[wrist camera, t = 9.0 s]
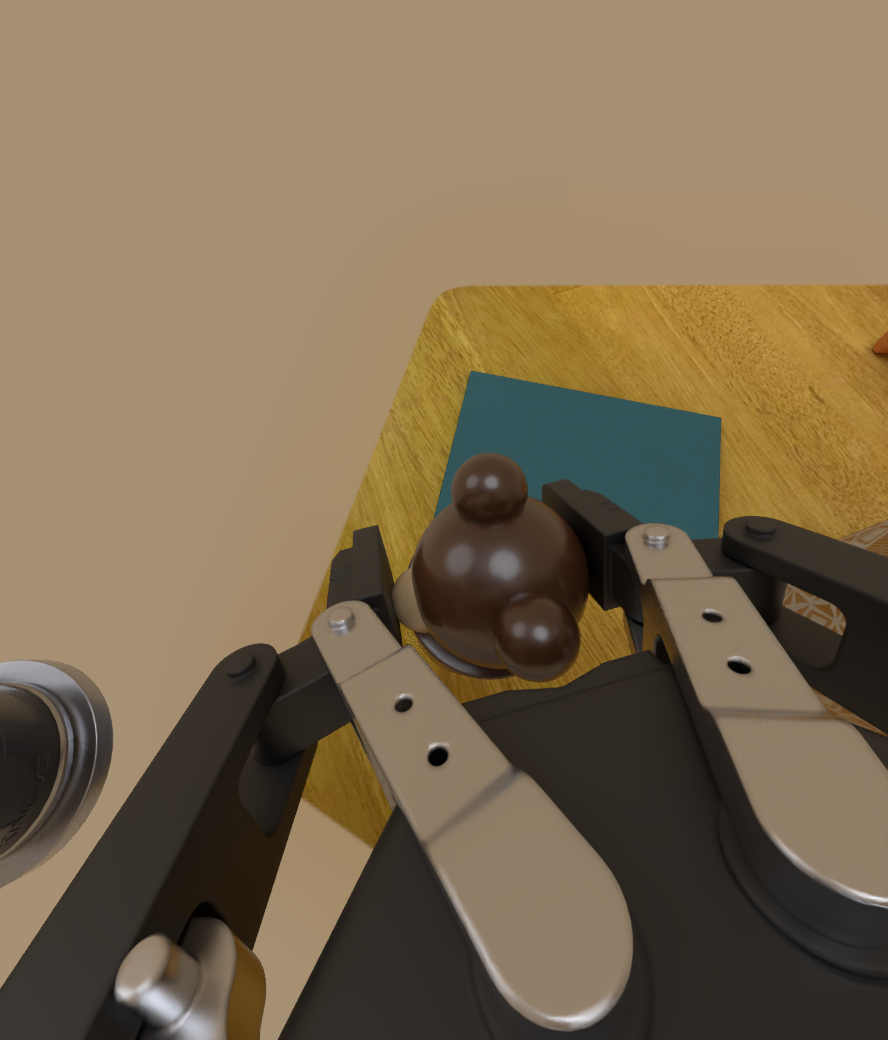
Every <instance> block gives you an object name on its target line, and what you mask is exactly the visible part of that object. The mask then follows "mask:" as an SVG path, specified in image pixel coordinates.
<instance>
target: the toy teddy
mask: <svg viewBox="0 0 888 1040" xmlns="http://www.w3.org/2000/svg"><path fill="white" fill-rule="evenodd" d="M451 498H452V502H453V503H452V504H451V505H449V506H448V507H446V508H445V509H444V510H443V511H441V512H440V513H439V514H438V515H437V516H436V517H435V518H434V519H433V520H432V522H431V523H430V524H429V526H428V527H427V528H426V530H425V531H424V533H423V535H422V536H421V538H420V540H419V542H418V545H417V548H416V550H415V553H414V555H413V557H412V559H411V562H410V564H409V567H408V570H406V571H405V572H403V573H402V574H401V575H400V576H399V578H398V579H397V580H396V582H395V584H394V586H393V589H392V601H393V606H394V610H395V614H396V617H397V619H398V620H399V621H400V623H402V624H403V625H404V626H405V627H407V628H408V629H410V630H413V631H414V634H415V636H416V638H417V640H418V642H419V644H420V646H421V647H422V649H423V651H424V652H425V653H426V654H427V655H428V657H429V658H431V659H432V660H433V661H434V662H435V663H436V664H438V665H439V666H440V667H442V668H444V669H446V670H448V671H451V672H453V673H456V674H460V675H464V676H468V677H473V678H478V679H489V680H491V679H503V678H508V677H513V676H517V677H519V678H521V679H524V680H527V681H531V682H547V681H552V680H554V679H557V678H559V677H561V676H562V675H564V674H565V673H566V672H567V671H568V670H569V669H570V668H571V667H572V666H573V664H574V663H575V661H576V659H577V657H578V654H579V651H580V644H581V635H580V629H579V626H578V624H579V622H580V620H581V618H582V616H583V613H584V610H585V608H586V603H587V599H588V593H589V569H588V563H587V558H586V555H585V552H584V549H583V547H582V545H581V542H580V540H579V538H578V537H577V535H576V533H575V532H574V530H573V529H572V528H571V526H570V525H569V524H568V522H567V521H566V520H565V519H564V518H563V517H562V516H561V515H560V514H559V513H558V512H556V511H555V510H554V509H553V508H551V507H550V506H548V505H547V504H545V503H543V502H542V501H540V500H538V499H535V498H533V497H531V496H528V485H527V481H526V477H525V475H524V473H523V471H522V469H521V468H520V467H519V466H518V465H517V464H516V463H515V462H514V461H513V460H512V459H510V458H508V457H506V456H504V455H501V454H498V453H482V454H478V455H475V456H473V457H471V458H469V459H468V460H467V461H465V462H464V463H463V464H462V465H461V466H460V467H459V469H458V470H457V471H456V473H455V475H454V478H453V480H452V485H451Z"/></svg>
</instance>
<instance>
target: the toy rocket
mask: <svg viewBox="0 0 888 1040" xmlns="http://www.w3.org/2000/svg"><path fill="white" fill-rule="evenodd" d="M873 350H874V351H875V352H876V353H888V332H887V333H886V334H884V335H883V336H882V337H881V338H880V339H879V340H878V341H877V343H876V345H875V346H874V348H873Z"/></svg>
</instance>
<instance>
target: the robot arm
mask: <svg viewBox="0 0 888 1040" xmlns="http://www.w3.org/2000/svg"><path fill="white" fill-rule="evenodd" d="M542 502H543V503H545V504H547V505H548V506H550V507H551V508H553V509H554V510H555V511H556V512H558V513H559V514H560V515H561V516H562V517H563V518H564V519H565V520H566V521H567V522H568V524H569V525H570V526H571V528H572V529H573V530H574V532H575V533H576V535H577V537H578V538H579V540H580V542H581V545H582V547H583V549H584V552H585V555H586V558H587V563H588V569H589V593H590V594H591V596H592V597H593V598H594V599H595V600H596V602H597V603H598V604H599V605H600V606H601V607H602V609H603V610H604V611H606V610H610V609H613V608H617V607H620V606H621V608H622V609H623V623H624V628H625V631H626V635H627V639H628V642H629V646H630V650H631V653H632V655H629V656H625V657H622V658H619V659H615V660H612V661H608V662H605V663H603V664H601V665H599V666H597V667H596V668H594V669H592V670H591V671H589V672H587V673H585V674H584V675H582V676H580V677H579V678H577V679H575V680H574V681H572V682H570V683H568V684H567V685H565V686H562V687H558V688H543V689H526V690H510V691H504V692H500V693H497V694H493V695H490V696H486V697H483V698H479V699H476V700H472V701H469V702H465V703H462V704H460V702H459V701H458V700H457V699H456V698H455V696H454V695H453V694H452V693H451V692H450V690H449V689H448V688H447V687H446V686H445V684H444V683H443V682H442V681H441V680H440V678H439V677H438V676H437V675H436V674H435V672H434V671H433V670H432V669H431V668H430V666H429V665H428V664H427V663H426V662H425V660H424V659H423V658H422V657H421V656H420V654H419V653H418V652H417V651H416V650H415V649H414V648H413V647H412V646H411V645H410V644H407V645H405V646H404V647H403V645H402V638H401V630H400V623H399V620H398V619H397V617H396V614H395V610H394V606H393V601H392V589H393V586H394V581H393V577H392V572H391V569H390V565H389V562H388V558H387V555H386V551H385V548H384V544H383V541H382V537H381V534H380V531H379V528H378V525H375V526H371V527H367V528H363V529H359V530H355V531H353V548H349V549H345V550H341V551H339V552H338V554H337V555H336V556H335V558H334V559H333V561H332V564H331V574H330V583H329V590H328V599H327V608H326V610H325V611H323V612H322V613H321V614H320V615H319V616H318V617H317V618H316V619H315V621H314V622H313V625H312V628H311V633H312V636H311V637H309V638H308V639H307V640H305V641H304V642H302V643H300V644H298V645H296V646H294V647H292V648H290V649H288V650H286V651H284V652H282V653H280V654H277V653H276V650H275V649H274V648H273V647H272V646H271V645H268V644H253V645H249V646H246V647H243V648H241V649H239V650H237V651H235V652H233V653H231V654H230V655H228V656H227V657H226V658H224V659H223V660H222V661H221V662H220V663H219V664H218V665H217V666H216V667H215V668H214V670H213V671H212V672H211V674H210V675H209V677H208V678H207V680H206V681H205V683H204V684H203V686H202V687H201V689H200V690H199V692H198V693H197V695H196V696H195V698H194V699H193V701H192V702H191V704H190V705H189V707H188V708H187V710H186V711H185V713H184V714H183V716H182V717H181V719H180V720H179V722H178V723H177V725H176V726H175V728H174V729H173V731H172V732H171V734H170V735H169V737H168V738H167V740H166V741H165V743H164V744H163V746H162V747H161V749H160V750H159V752H158V753H157V755H156V756H155V758H154V759H153V761H152V762H151V764H150V765H149V767H148V768H147V770H146V771H145V773H144V774H143V776H142V777H141V779H140V780H139V782H138V783H137V785H136V786H135V788H134V789H133V791H132V792H131V794H130V795H129V797H128V798H127V800H126V801H125V803H124V804H123V806H122V807H121V809H120V810H119V812H118V813H117V815H116V816H115V818H114V819H113V821H112V822H111V824H110V825H109V827H108V828H107V830H106V831H105V833H104V835H103V836H102V837H101V839H100V840H99V842H98V843H97V845H96V846H95V848H94V849H93V851H92V852H91V854H90V855H89V857H88V858H87V860H86V861H85V863H84V864H83V866H82V867H81V869H80V870H79V872H78V873H77V875H76V876H75V878H74V879H73V881H72V882H71V884H70V885H69V887H68V888H67V890H66V891H65V893H64V894H63V896H62V897H61V899H60V900H59V902H58V903H57V905H56V906H55V908H54V909H53V911H52V912H51V914H50V915H49V917H48V918H47V920H46V921H45V923H44V924H43V926H42V927H41V929H40V930H39V932H38V933H37V935H36V936H35V938H34V939H33V941H32V942H31V944H30V945H29V947H28V948H27V950H26V951H25V953H24V954H23V956H22V957H21V959H20V960H19V962H18V963H17V965H16V966H15V968H14V969H13V971H12V972H11V974H10V975H9V977H8V978H7V980H6V981H5V983H4V984H3V986H2V987H1V989H0V1040H260V1028H261V1022H262V1016H263V1011H264V1006H265V998H266V978H265V974H264V969H263V967H262V964H261V962H260V960H259V959H258V958H257V956H256V955H255V954H254V953H253V952H252V950H253V947H254V944H255V941H256V938H257V935H258V932H259V928H260V925H261V922H262V919H263V916H264V912H265V909H266V906H267V903H268V900H269V897H270V894H271V891H272V887H273V884H274V881H275V878H276V875H277V871H278V868H279V865H280V862H281V859H282V856H283V853H284V850H285V847H286V843H287V840H288V837H289V834H290V831H291V828H292V824H293V821H294V818H295V815H296V812H297V809H298V806H299V802H300V799H301V796H302V793H303V790H304V787H305V784H306V780H307V777H308V774H309V771H310V768H311V765H312V762H313V758H314V755H315V752H316V749H317V745H318V741H319V740H321V739H322V738H324V737H326V736H327V735H329V734H331V733H332V732H334V731H336V730H337V729H339V728H341V727H342V726H344V725H346V724H347V723H349V722H350V723H351V725H352V727H353V729H354V731H355V733H356V735H357V737H358V739H359V741H360V743H361V746H362V748H363V750H364V752H365V754H366V756H367V758H368V760H369V762H370V764H371V766H372V768H373V770H374V772H375V774H376V776H377V778H378V781H379V783H380V785H381V787H382V789H383V791H384V794H385V796H386V798H387V800H388V802H389V805H390V807H391V809H392V811H393V812H392V814H391V816H390V818H389V820H388V822H387V824H386V826H385V828H384V830H383V832H382V833H381V835H380V837H379V839H378V841H377V843H376V845H375V847H374V849H373V851H372V853H371V855H370V858H369V859H368V862H367V863H366V865H365V868H364V869H363V871H362V873H361V875H360V877H359V879H358V881H357V883H356V885H355V887H354V889H353V891H352V893H351V895H350V897H349V899H348V901H347V904H346V905H345V907H344V909H343V911H342V913H341V915H340V917H339V919H338V921H337V923H336V925H335V927H334V929H333V931H332V933H331V935H330V937H329V939H328V941H327V943H326V945H325V947H324V949H323V951H322V953H321V955H320V957H319V959H318V961H317V963H316V965H315V967H314V969H313V971H312V973H311V975H310V977H309V979H308V981H307V983H306V985H305V987H304V989H303V991H302V993H301V995H300V997H299V999H298V1001H297V1003H296V1004H295V1007H294V1008H293V1010H292V1012H291V1014H290V1017H289V1018H288V1020H287V1022H286V1024H285V1026H284V1028H283V1030H282V1032H281V1034H280V1036H279V1038H278V1040H888V737H886V736H884V735H881V734H878V733H876V732H873V731H871V730H868V729H866V728H863V727H860V726H858V725H855V724H853V723H850V722H848V721H846V720H845V719H843V718H841V717H838V716H836V715H833V714H831V713H830V712H829V711H827V710H826V708H825V707H824V706H823V705H822V704H821V702H820V701H819V699H818V698H817V696H816V695H815V694H814V692H813V691H812V689H811V688H813V689H814V690H816V691H818V692H819V693H821V694H823V695H824V696H826V697H827V698H829V699H831V700H832V701H834V702H835V703H837V704H839V705H840V706H842V707H843V708H845V709H847V710H848V711H850V712H852V713H853V714H855V715H856V716H858V717H860V718H861V719H863V720H864V721H866V722H868V723H869V724H871V725H872V726H874V727H876V728H877V729H879V730H881V731H882V732H884V733H885V734H887V735H888V557H886V556H883V555H880V554H877V553H874V552H871V551H868V550H865V549H862V548H859V547H856V546H853V545H850V544H847V543H845V542H842V541H839V540H836V539H833V538H830V537H827V536H824V535H821V534H818V533H815V532H812V531H809V530H806V529H803V528H800V527H797V526H794V525H792V524H789V523H786V522H783V521H780V520H776V519H772V518H767V517H759V516H744V517H738V518H734V519H731V520H729V521H728V522H726V523H725V525H724V530H723V537H722V538H711V539H694V540H691V539H690V538H689V536H688V535H687V534H686V533H685V532H684V531H683V530H681V529H679V528H677V527H674V526H671V525H667V524H660V523H648V524H643V523H642V522H640V521H639V520H638V519H636V518H635V517H633V516H632V515H631V514H629V513H628V512H626V511H625V510H624V509H620V507H619V506H618V505H617V504H615V503H612V501H611V500H609V499H608V498H607V497H605V496H604V495H602V494H600V493H597V492H594V491H590V490H587V489H586V490H582V489H580V488H579V487H578V486H576V485H575V484H574V483H572V482H571V481H570V480H568V479H564V480H559V481H555V482H551V483H547V484H544V485H543V486H542ZM787 584H790V585H792V586H794V587H796V588H799V589H801V590H803V591H805V592H807V593H810V594H812V595H814V596H816V597H818V598H821V599H823V600H825V601H827V602H829V603H831V604H833V605H834V606H836V607H837V608H838V609H839V610H840V611H841V612H842V614H843V615H844V617H845V620H846V627H845V630H844V633H843V635H840V634H838V633H836V632H834V631H832V630H830V629H828V628H826V627H824V626H822V625H820V624H818V623H816V622H814V621H812V620H810V619H808V618H806V617H804V616H802V615H800V614H798V613H796V612H794V611H792V610H790V609H788V608H786V607H784V606H782V604H783V600H784V596H785V592H786V587H787ZM810 687H811V688H810ZM73 751H74V740H73V732H72V727H71V723H70V720H69V717H68V715H67V713H66V711H65V709H64V708H63V706H62V705H61V703H60V702H59V701H58V700H57V699H56V698H55V697H54V696H53V695H52V694H51V693H49V692H48V691H46V690H45V689H42V688H40V687H38V686H35V685H32V684H28V683H20V682H8V683H0V860H2V859H3V858H5V857H7V856H9V855H10V854H12V853H13V852H14V851H16V850H17V849H19V848H20V847H21V846H22V845H24V844H25V843H26V842H27V841H28V840H29V839H30V838H31V837H32V836H33V835H34V834H35V833H36V832H37V831H38V830H39V829H40V828H41V827H42V825H43V824H44V823H45V822H46V820H47V819H48V818H49V816H50V815H51V813H52V812H53V810H54V808H55V807H56V805H57V803H58V802H59V800H60V798H61V796H62V794H63V791H64V789H65V786H66V784H67V781H68V778H69V775H70V771H71V766H72V761H73Z"/></svg>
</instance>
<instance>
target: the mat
mask: <svg viewBox="0 0 888 1040" xmlns="http://www.w3.org/2000/svg"><path fill="white" fill-rule="evenodd" d="M720 443H721V418H719V417H714V416H708V415H703V414H698V413H693V412H687V411H682V410H677V409H671V408H666V407H661V406H656V405H650V404H645V403H640V402H634V401H629V400H624V399H618V398H613V397H608V396H603V395H597V394H592V393H587V392H581V391H576V390H571V389H566V388H560V387H555V386H550V385H544V384H539V383H534V382H529V381H523V380H518V379H513V378H507V377H502V376H497V375H491V374H486V373H481V372H476V371H471V373H470V377H469V381H468V385H467V389H466V393H465V397H464V401H463V405H462V409H461V413H460V417H459V421H458V425H457V429H456V433H455V437H454V441H453V445H452V448H451V452H450V456H449V460H448V464H447V468H446V472H445V476H444V480H443V484H442V488H441V492H440V496H439V500H438V504H437V508H436V512H435V516H434V518H435V517H436V516H437V515H438V514H439V513H440V512H441V511H443V510H444V509H445V508H446V507H448V506H449V505H451V504H452V503H453V502H452V498H451V485H452V480H453V478H454V475H455V473H456V471H457V470H458V469H459V467H460V466H461V465H462V464H463V463H464V462H465V461H467V460H468V459H469V458H471V457H473V456H475V455H478V454H482V453H498V454H501V455H504V456H506V457H508V458H510V459H512V460H513V461H514V462H515V463H516V464H517V465H518V466H519V467H520V468H521V469H522V471H523V473H524V475H525V477H526V481H527V485H528V496H531V497H533V498H535V499H538V500H540V501H542V486H543V485H544V484H547V483H551V482H555V481H559V480H564V479H568V480H570V481H571V482H572V483H574V484H575V485H576V486H578V487H579V488H580V489H582V490H586V489H587V490H590V491H594V492H597V493H600V494H602V495H604V496H605V497H607V498H608V499H609V500H611V501H612V503H615V504H617V505H618V506H619V507H620V509H624V510H625V511H626V512H628V513H629V514H631V515H632V516H633V517H635V518H636V519H638V520H639V521H640V522H642V523H643V524H648V523H660V524H667V525H671V526H674V527H677V528H679V529H681V530H683V531H684V532H685V533H686V534H687V535H688V536H689V538H690V539H691V540H694V539H711V538H718V531H719V487H720Z"/></svg>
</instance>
